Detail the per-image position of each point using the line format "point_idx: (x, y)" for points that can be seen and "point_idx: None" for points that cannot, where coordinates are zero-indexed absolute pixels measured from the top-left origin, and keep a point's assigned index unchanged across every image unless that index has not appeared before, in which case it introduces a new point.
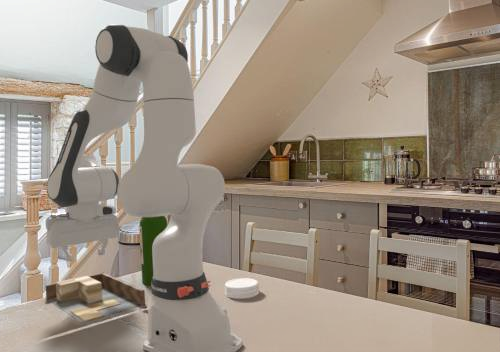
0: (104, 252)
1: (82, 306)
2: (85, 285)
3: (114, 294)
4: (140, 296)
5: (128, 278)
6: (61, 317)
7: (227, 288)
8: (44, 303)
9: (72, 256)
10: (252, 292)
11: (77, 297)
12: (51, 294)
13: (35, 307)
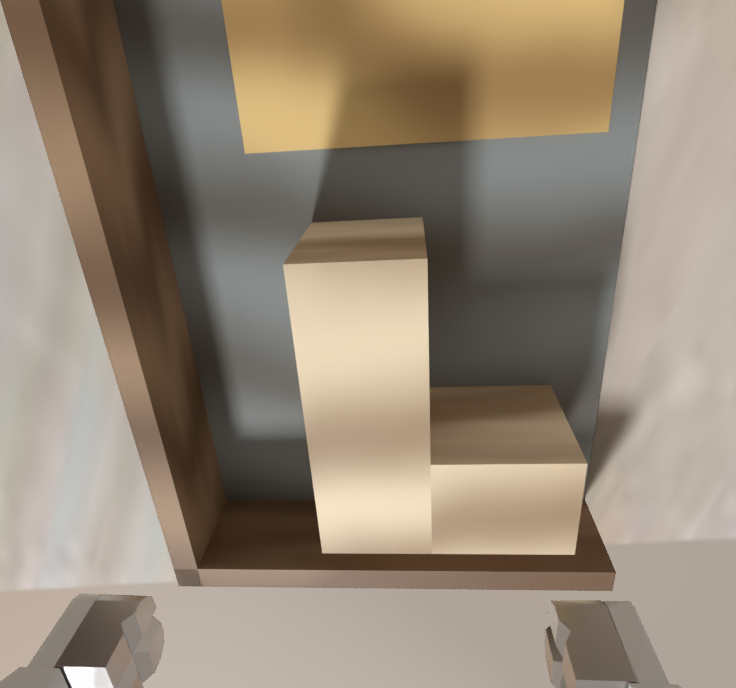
0: (68, 612)
1: (486, 179)
2: (427, 310)
3: (201, 275)
4: None
5: (45, 541)
6: (684, 96)
7: None
8: (609, 470)
9: (569, 649)
10: None
11: (437, 390)
12: None
13: (683, 441)
